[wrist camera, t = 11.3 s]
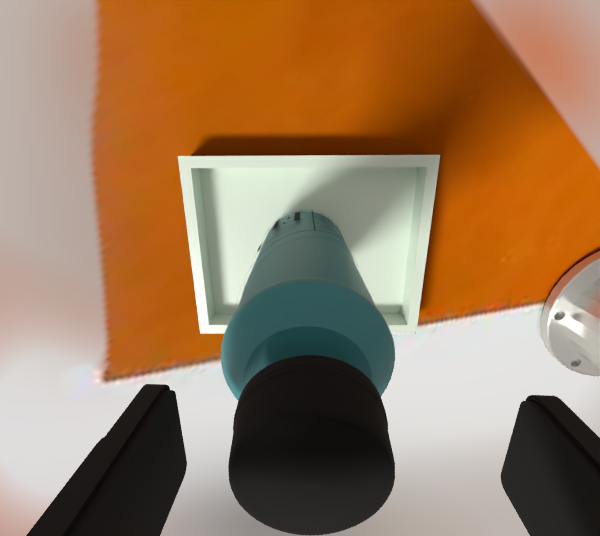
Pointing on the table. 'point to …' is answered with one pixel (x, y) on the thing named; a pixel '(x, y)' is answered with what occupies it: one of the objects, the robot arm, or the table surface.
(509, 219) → the table surface
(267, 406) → the beverage bottle
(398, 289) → the tray
